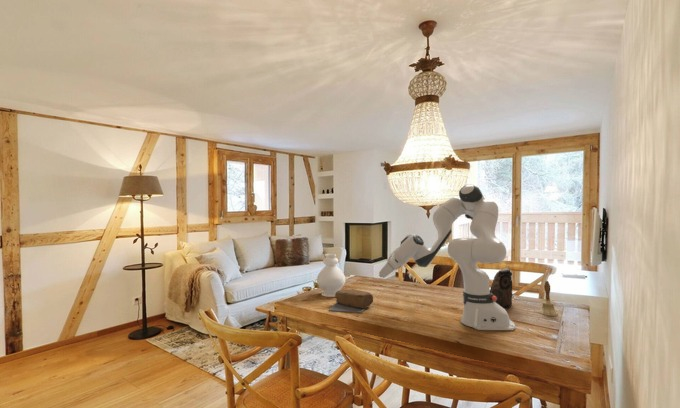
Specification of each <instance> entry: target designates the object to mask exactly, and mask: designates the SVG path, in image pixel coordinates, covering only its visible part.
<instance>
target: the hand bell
mask: <svg viewBox="0 0 680 408" xmlns="http://www.w3.org/2000/svg"><path fill="white" fill-rule="evenodd" d="M543 289H544V292H545V301H542V306H541V309H539V311H538V313H539V315H543V316H547V317H557V316H559V313H558V312H557V311H556V309H555V305H554V303H553V302H552V301H551V296H550V292H551V284H550V283H549V280H545V282H544V286H543Z"/></svg>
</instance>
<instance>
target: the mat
mask: <svg viewBox="0 0 680 408" xmlns="http://www.w3.org/2000/svg"><path fill="white" fill-rule="evenodd" d="M366 309H367V307H366V308H357V307H351V306H346V305H342V304H340V303H337V302H335V304H334V305H332V306H331V307H330V308H329V309H328V311H329V312H335V313H336V312H337V313H352V314H354V313H356V314H363V313H364V312H365V310H366Z"/></svg>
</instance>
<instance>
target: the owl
mask: <svg viewBox="0 0 680 408" xmlns="http://www.w3.org/2000/svg"><path fill="white" fill-rule="evenodd" d="M512 275H513V273H512V271H511V269H510V267H509V266H508V267H504V268H501V269H499V270H498V271H497V272H496V274H495V275H494V277H493V280H492V283H491V285H490V293H492V294H493V295H494V296H496V298H497V300H496V301H495V302H496V303H497V304H499V305H500V306H501V307H502V308H504V309H505V310H506V309H510V308H511V307H513V301H512V300H513V280H512Z"/></svg>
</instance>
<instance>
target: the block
mask: <svg viewBox="0 0 680 408" xmlns="http://www.w3.org/2000/svg"><path fill="white" fill-rule="evenodd" d="M335 299H336V300H335V303H340V304H342V305H346V306H351V307H357V308H366V309H367V308H368V307H369V306H371V305H372V304H373V302H374V296H373V294H372V293H370V292H368V291H364V290H357V289H340V290H339V291H337V292H336V293H335Z"/></svg>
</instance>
